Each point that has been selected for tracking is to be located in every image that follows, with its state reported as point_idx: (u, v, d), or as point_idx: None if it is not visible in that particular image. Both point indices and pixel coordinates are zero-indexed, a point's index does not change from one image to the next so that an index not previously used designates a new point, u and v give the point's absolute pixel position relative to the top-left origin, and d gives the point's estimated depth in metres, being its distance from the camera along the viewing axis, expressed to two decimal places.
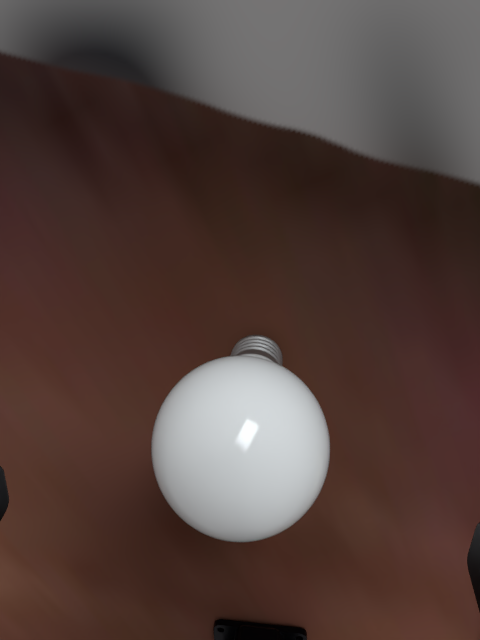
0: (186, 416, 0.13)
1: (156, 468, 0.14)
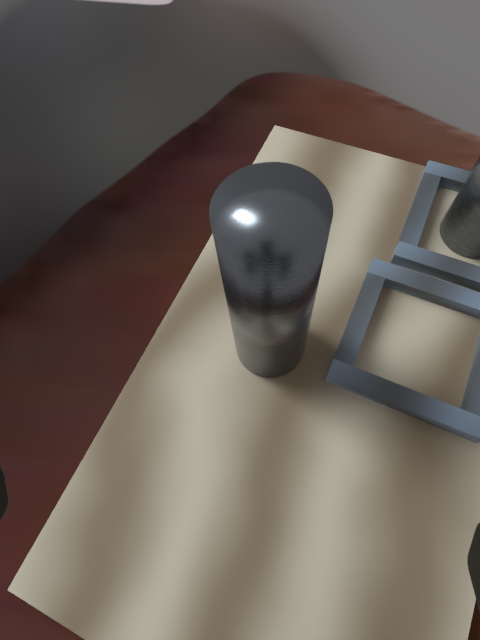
0: None
1: None
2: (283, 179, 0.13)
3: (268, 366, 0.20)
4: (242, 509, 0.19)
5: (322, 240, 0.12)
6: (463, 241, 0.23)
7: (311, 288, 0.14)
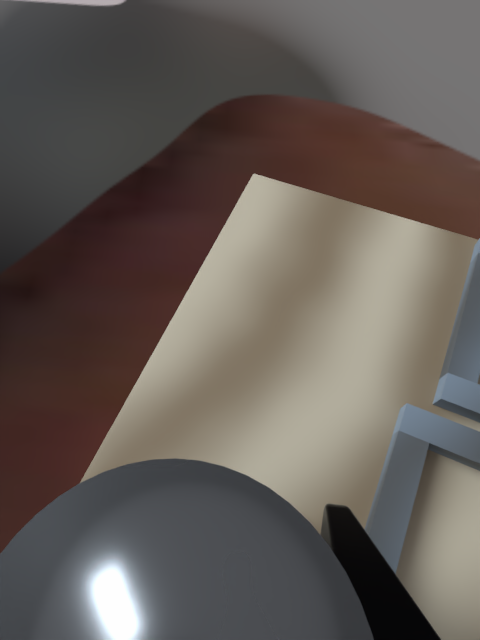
0: None
1: None
2: (210, 543, 0.04)
3: None
4: None
5: None
6: None
7: None
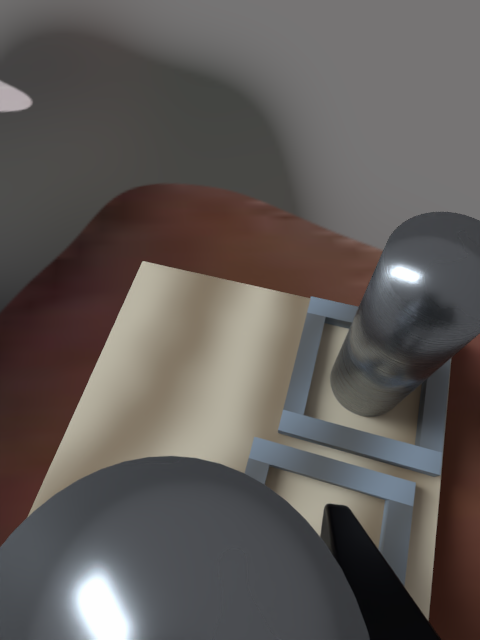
0: None
1: None
2: (206, 540, 0.04)
3: None
4: None
5: None
6: (353, 405, 0.20)
7: None
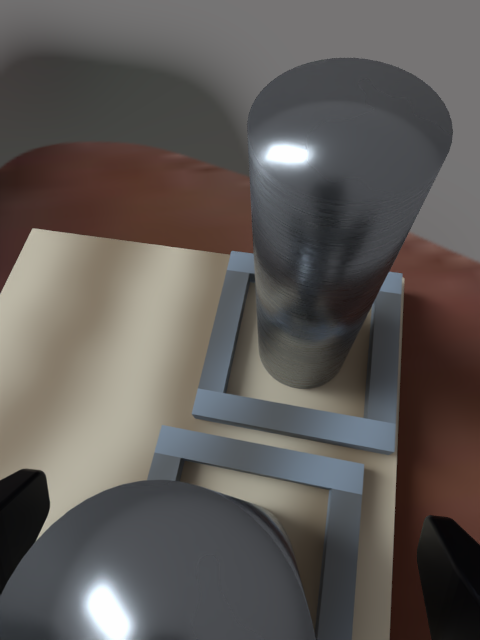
0: None
1: None
2: (187, 548, 0.05)
3: None
4: None
5: None
6: (283, 375, 0.16)
7: None
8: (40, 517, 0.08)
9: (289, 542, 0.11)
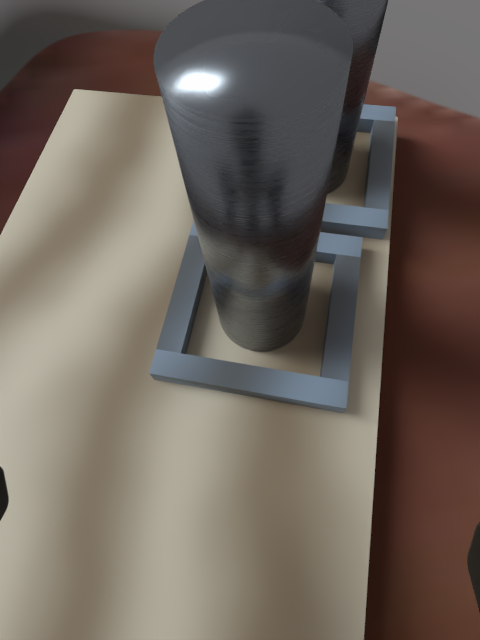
0: None
1: None
2: (272, 9, 0.08)
3: (259, 334, 0.15)
4: (58, 575, 0.14)
5: (336, 89, 0.07)
6: None
7: (316, 197, 0.10)
8: None
9: None
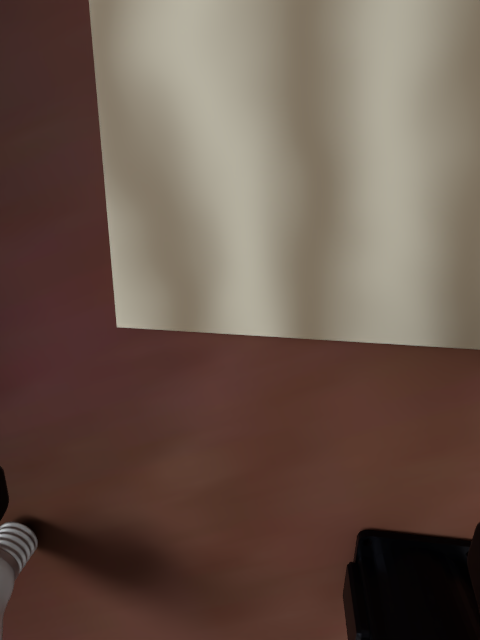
0: None
1: None
2: None
3: None
4: (293, 171, 0.17)
5: None
6: None
7: None
8: None
9: None
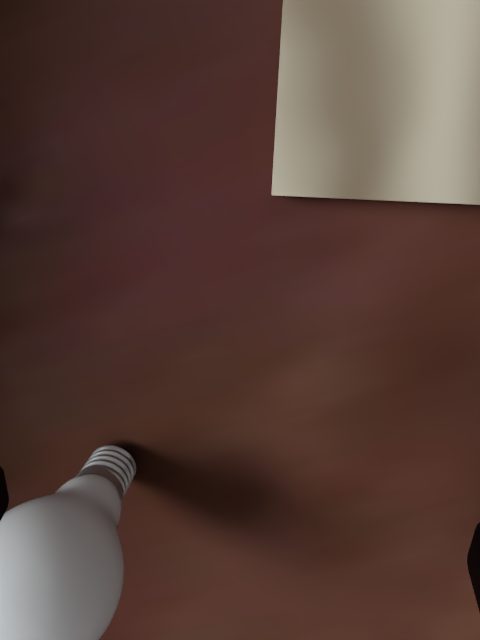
0: None
1: None
2: None
3: None
4: None
5: None
6: None
7: None
8: None
9: None
